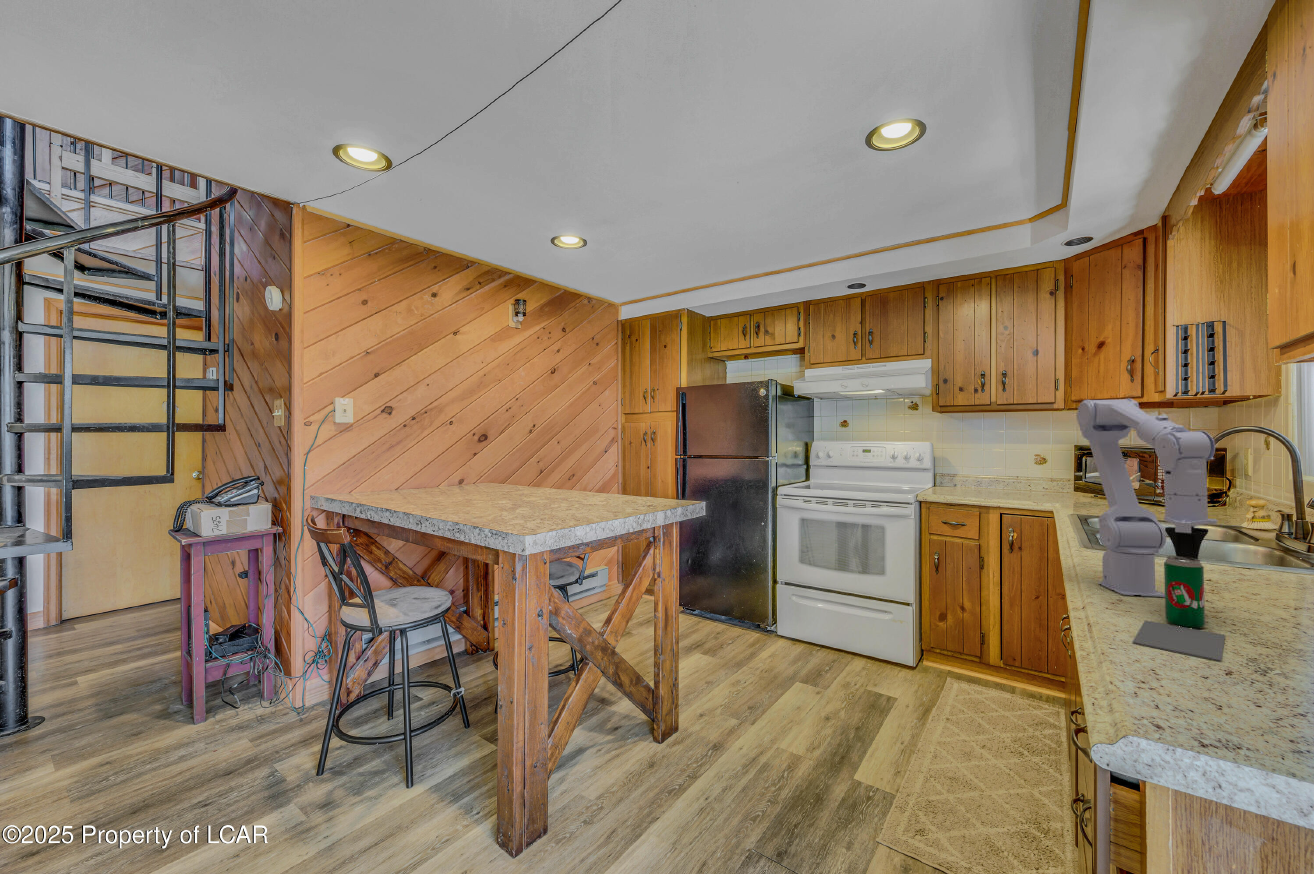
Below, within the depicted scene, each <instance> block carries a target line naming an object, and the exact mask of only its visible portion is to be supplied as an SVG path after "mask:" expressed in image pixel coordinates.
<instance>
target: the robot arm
mask: <svg viewBox="0 0 1314 874" xmlns="http://www.w3.org/2000/svg"><path fill="white" fill-rule="evenodd" d="M1076 420H1077V422H1078V423H1077V424H1078V426H1079V430H1080V432H1081V435H1082V437H1083V438H1084V439H1085V440H1087V441H1088V443H1089V448H1090V449H1091V453H1092V456H1093V460H1094V463H1095V466H1096V468H1097V472H1098V473H1097V474H1098V475H1099V478H1100V482H1101V486H1102V489H1103V492H1104V495H1105V497H1106V498H1105V499H1106V503H1107V505H1108V508H1109V509H1107V510H1106V511H1104V512H1103V513H1102V514H1100V516H1099V517H1098V519H1097V520H1098V527H1099V528H1098V529H1099V531H1098V535H1099V540H1100V541H1101V543H1102V544H1103V545H1104V546H1105V547H1106V550H1105V552H1103V555H1102V559H1101V560H1102V562H1101V563H1102V565H1101V566H1102V581H1098V583H1099V584H1098V585H1100V584H1101V585H1100V586H1103V587H1104V588H1107V589H1109V590H1111V591H1113V590H1114V592H1116V593H1118V594H1120V595H1122V594H1123V596H1134V595H1141V596H1140V597H1160V598H1165V593H1164V592H1161V591H1158V590H1156V560H1155V559H1156V558H1155V554H1160V551H1159V550H1162V549H1163V548H1164V546H1165V545H1166V542H1167V535H1168V537H1169V540H1170V541H1171V543H1172V545H1173V548H1174V549H1173V550H1174V552H1175V556H1180V557H1189V558H1195V559H1198V560H1199V554H1200V549H1201V545H1202V543H1203V540H1204V539H1205V538H1206V536H1207V535H1208V533H1209V529H1208V528H1205V527H1204V528H1202V527H1201V528H1200V527H1196V526H1203V525H1210V524H1211V525H1217V524H1218V519H1215V518H1209V514H1208V513H1209V512H1208V509H1209V507H1208V478H1207V477H1208V473H1207V471H1208V470H1207V462H1208V461H1210V460H1211V459H1212V458H1213V457H1214V455H1215V452H1216V443H1215V440H1214V438H1213V436H1212V435H1210V434H1209V432H1207V431H1205V430H1196V431H1191V430H1188V429H1187V428H1185V426H1184V425H1181V424H1177V423H1175V422H1173V421H1171V420H1170V417H1168V416H1167V415H1153V416H1151V415H1149V414H1148V413H1147V412H1145V411H1144V410H1142V409H1141V408H1140V404H1139V402H1138V401H1136V400H1135V399H1132V398H1130V397H1129V398H1124V399H1121V398H1120V399H1084V400H1083V401H1082V402H1081V403H1080V404H1079V406H1078V408H1077V413H1076ZM1132 429H1133V430H1135V431H1136V436H1137V438H1138V439H1139V440H1141V441H1143V442H1144V443H1146V444H1147V445H1149V446H1151V447H1153V448H1154V450H1155V455H1156V456H1157V458H1158V461H1159V467H1160V469H1161V471H1163V477H1164V478H1163V479H1164V481H1163V482H1164V483H1163V484H1164V516H1163V520H1164V521H1165V522H1167V523H1169V524H1173V525H1174V526H1168V527H1165V528H1164V527H1163V526H1162V524H1161V523H1160V522H1159V521H1158V518H1157V515H1156V514H1155V513H1154V512H1152V511H1150V510H1148V509H1147V508H1144V507H1143V506H1141V505H1140V503H1139V500H1138V497H1137V495H1136V492H1135V488H1134V486H1133V483H1132V479H1131V477H1130V475H1129V471H1128V468H1127V466H1126V462H1125V459H1124V456H1123V453H1122V449H1121V446H1120V445H1119V442H1120V441H1121V440H1123V439H1126V438H1127V437H1128V436H1129V434H1130V432H1131V431H1132Z"/></svg>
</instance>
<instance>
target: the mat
mask: <svg viewBox="0 0 1314 874" xmlns="http://www.w3.org/2000/svg"><path fill="white" fill-rule="evenodd" d="M1224 640H1226V634H1223V633H1222V634H1221V633H1219V632H1212V631H1211V632H1210V631H1205V630H1201V629H1190V628H1185V627H1179V626H1175V625H1173V624H1168V623H1161V622H1157V621H1152V620H1146V619H1145V620H1144V621H1143V623H1142V625H1141V627H1140V628H1139V630H1138V632H1137V633H1136V635H1135V637H1134V638H1133V640H1132V644H1133V643H1134V644H1133V645H1137V644H1139V645H1138V646H1142V645H1143V646H1142V647H1148V648H1152V649H1156V648H1157V650H1161V651H1167V652H1172V653H1175V654H1179V655H1180V654H1181V655H1185V656H1190V657H1195V658H1199V657H1201V659H1204V658H1206V659H1205V660H1209V659H1210V660H1209V661H1214V660H1215V661H1214V662H1219V661H1221V660H1222V658H1223V654H1224V647H1225V641H1224ZM1221 662H1222V661H1221Z"/></svg>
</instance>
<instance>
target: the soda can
mask: <svg viewBox="0 0 1314 874" xmlns="http://www.w3.org/2000/svg"><path fill="white" fill-rule="evenodd" d="M1204 571H1205V569H1204V566H1203V564H1202V563H1201V559H1199V558H1198V559H1195V558H1189V557H1180V556H1176V555H1171V556H1170V555H1169V556H1167V557H1166V560H1165V561H1164V562H1163V573H1164V574H1163V575H1164V594H1165V597H1164V609H1165V610H1164V611H1165V612H1164V613H1165V616H1164V617H1165V620H1166V621H1167V622H1168V623H1169V625H1174V626H1175V625H1176V626H1180V627H1185V628H1192V629H1196V630H1201V629H1203V628H1204V627H1205V626H1206V606H1205V605H1206V603H1205V601H1206V600H1205V573H1204Z"/></svg>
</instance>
